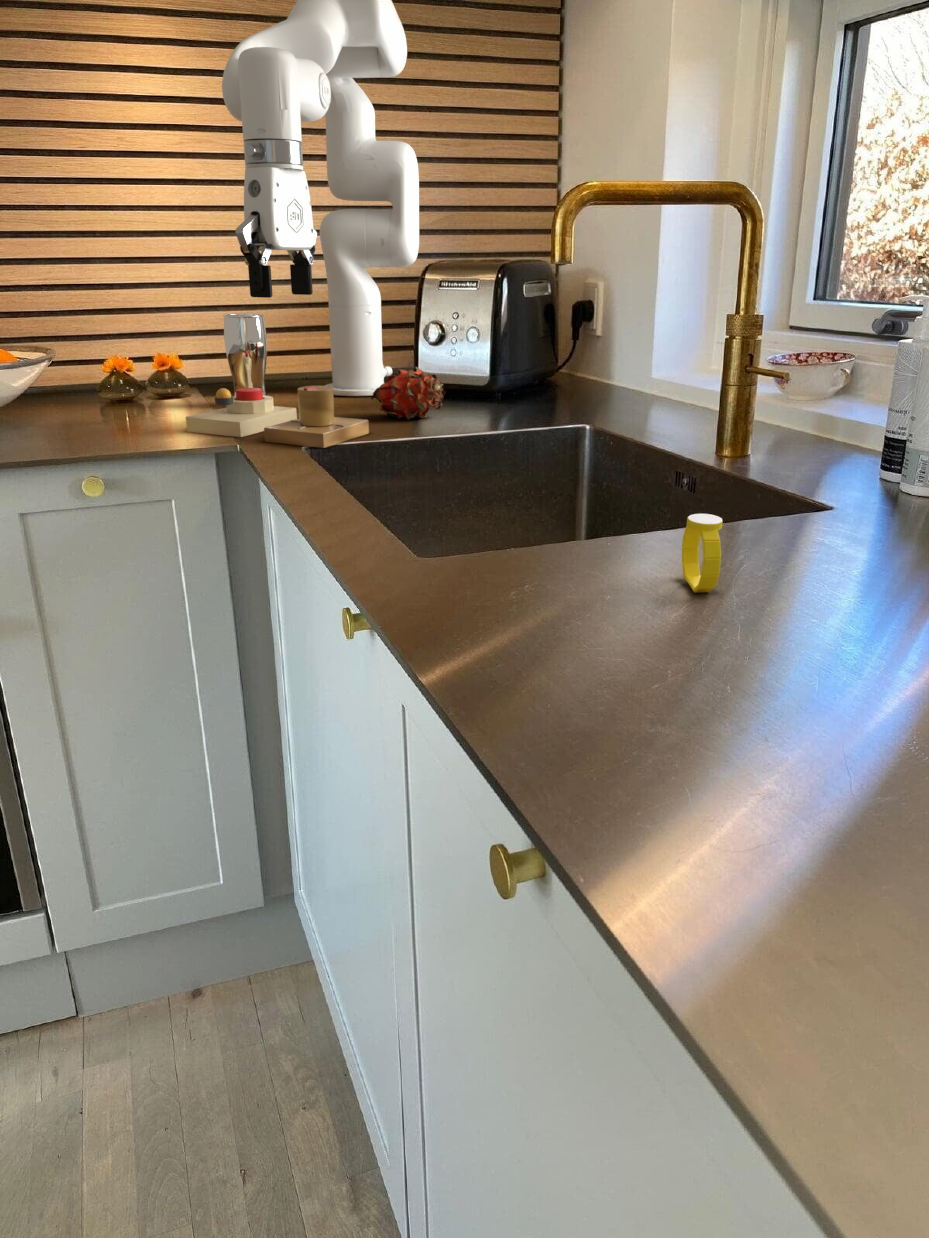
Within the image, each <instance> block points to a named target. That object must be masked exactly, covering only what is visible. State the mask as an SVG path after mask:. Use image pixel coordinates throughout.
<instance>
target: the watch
mask: <svg viewBox="0 0 929 1238" xmlns="http://www.w3.org/2000/svg"><path fill="white" fill-rule="evenodd" d="M722 528H723V518H722V517H720V516H719V515H715V514H709V513H693V514H690V515H689V516H687V518H686V526H685V529H684V531H683V535H682V544H681V547H682V548H681V568H682V574H683V580H685V581H686V582H687V584H688V585H689V587H690V588H691V589H692V592H693V593H695V594H696V593H710V592H711V591H713V590H714V589H715V588H716V586H717V583H718V580H719V577H720V573H721V564H722V545H721V544H722V543H721V538H720V533H719V531H720V530H722ZM700 540H701V541H700ZM700 542H702V545H701V546H702V564H701V565H702V566H701V568H700V564H699V560H700V559H699V554H700V553H699V547H700ZM700 569H701V570H700Z"/></svg>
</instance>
